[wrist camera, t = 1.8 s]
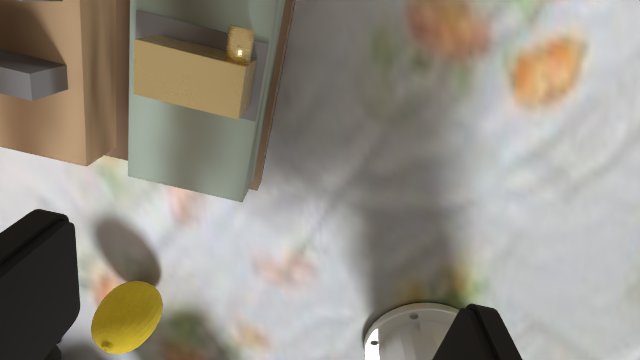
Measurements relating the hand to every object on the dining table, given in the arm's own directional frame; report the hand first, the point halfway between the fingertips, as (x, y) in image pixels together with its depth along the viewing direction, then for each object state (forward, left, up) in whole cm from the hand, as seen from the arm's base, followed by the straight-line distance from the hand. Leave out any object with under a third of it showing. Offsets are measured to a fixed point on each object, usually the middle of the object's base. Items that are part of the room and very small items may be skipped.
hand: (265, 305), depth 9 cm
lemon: (+12, +24, -23) cm, 35 cm away
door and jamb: (+13, -1, -23) cm, 27 cm away
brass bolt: (+7, -2, -17) cm, 18 cm away
